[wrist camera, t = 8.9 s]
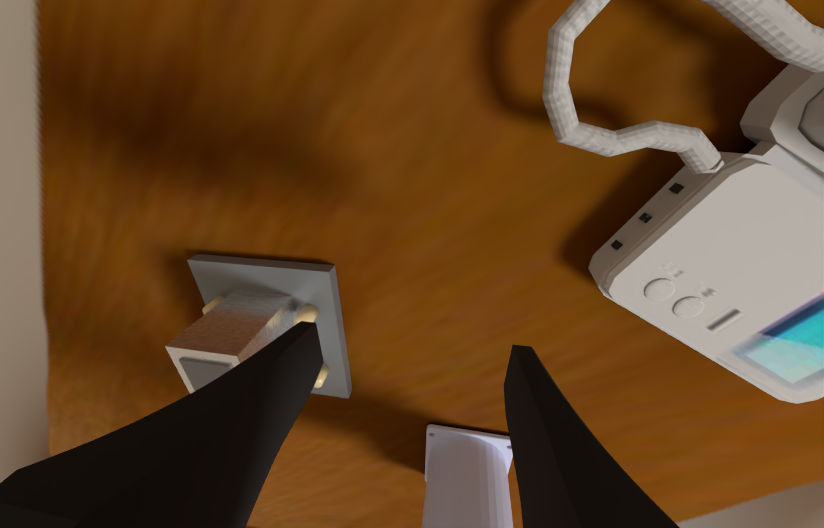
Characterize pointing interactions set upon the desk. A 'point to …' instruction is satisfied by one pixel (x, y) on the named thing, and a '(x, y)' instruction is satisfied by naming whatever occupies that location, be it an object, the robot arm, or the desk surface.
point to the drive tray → (310, 295)
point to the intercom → (724, 211)
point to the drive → (230, 335)
